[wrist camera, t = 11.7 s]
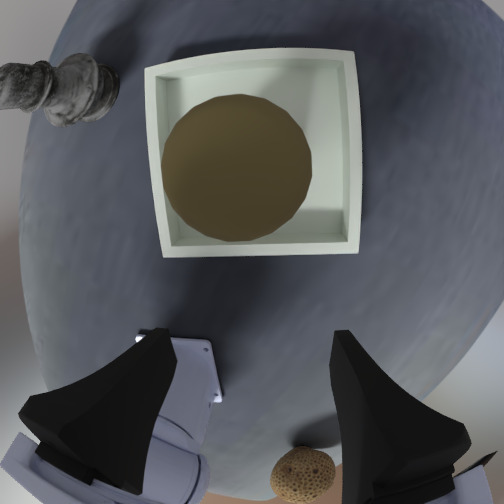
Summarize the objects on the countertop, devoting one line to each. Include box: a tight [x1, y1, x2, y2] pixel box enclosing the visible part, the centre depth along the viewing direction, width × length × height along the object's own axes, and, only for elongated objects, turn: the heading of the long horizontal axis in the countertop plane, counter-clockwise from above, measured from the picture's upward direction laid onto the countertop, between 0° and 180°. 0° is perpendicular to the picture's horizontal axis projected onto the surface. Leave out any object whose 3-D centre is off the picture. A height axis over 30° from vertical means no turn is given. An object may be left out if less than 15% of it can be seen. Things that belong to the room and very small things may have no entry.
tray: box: [145, 48, 362, 258], centre depth 17 cm, size 14×14×2 cm
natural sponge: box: [270, 446, 335, 504], centre depth 27 cm, size 9×9×10 cm
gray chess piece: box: [0, 53, 119, 127], centre depth 11 cm, size 6×6×12 cm
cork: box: [161, 94, 312, 242], centre depth 13 cm, size 6×6×11 cm
